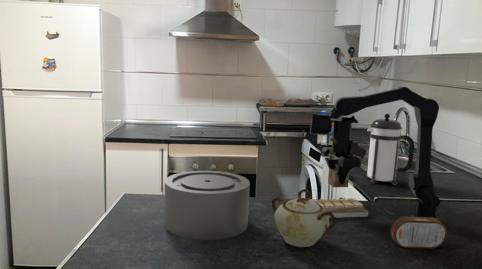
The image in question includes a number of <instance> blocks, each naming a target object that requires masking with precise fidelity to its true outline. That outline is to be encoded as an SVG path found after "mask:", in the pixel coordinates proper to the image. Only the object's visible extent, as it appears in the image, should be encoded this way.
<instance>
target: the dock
mask: <svg viewBox="0 0 482 269" xmlns="http://www.w3.org/2000/svg"><path fill="white" fill-rule="evenodd" d="M328 212H332V213H333V215H334V216H335V219H336V218H366V217H369V210H366V209H364V210H360V211H328ZM328 217H329V219H330V218H331V217H330V216H329V215H328ZM331 219H332V218H331Z"/></svg>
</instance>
